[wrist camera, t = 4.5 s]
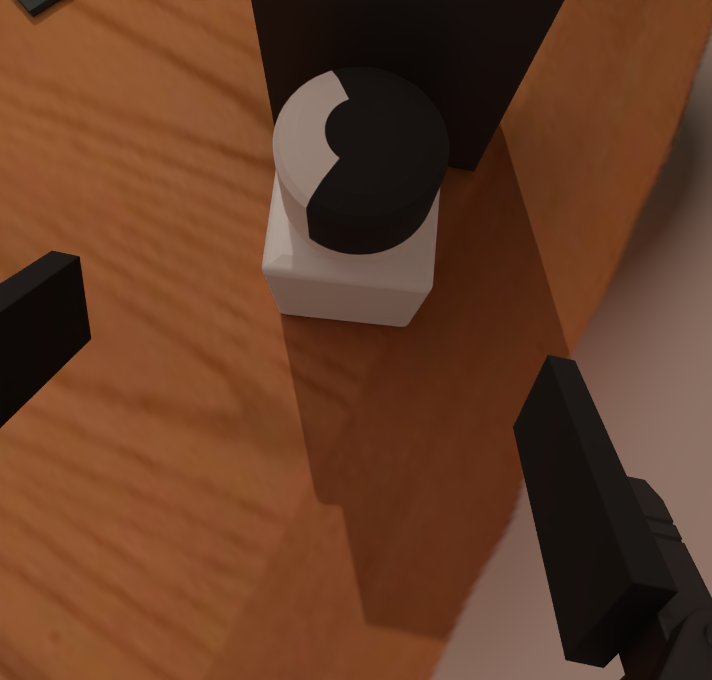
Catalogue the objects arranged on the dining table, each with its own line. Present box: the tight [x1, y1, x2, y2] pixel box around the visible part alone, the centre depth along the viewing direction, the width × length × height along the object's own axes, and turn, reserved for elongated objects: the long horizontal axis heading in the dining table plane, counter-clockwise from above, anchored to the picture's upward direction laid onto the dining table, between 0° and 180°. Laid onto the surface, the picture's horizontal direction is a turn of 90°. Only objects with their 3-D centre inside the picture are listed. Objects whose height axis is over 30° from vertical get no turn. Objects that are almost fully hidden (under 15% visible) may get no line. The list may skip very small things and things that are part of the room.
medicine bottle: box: [262, 67, 450, 327], centre depth 22 cm, size 7×7×12 cm
